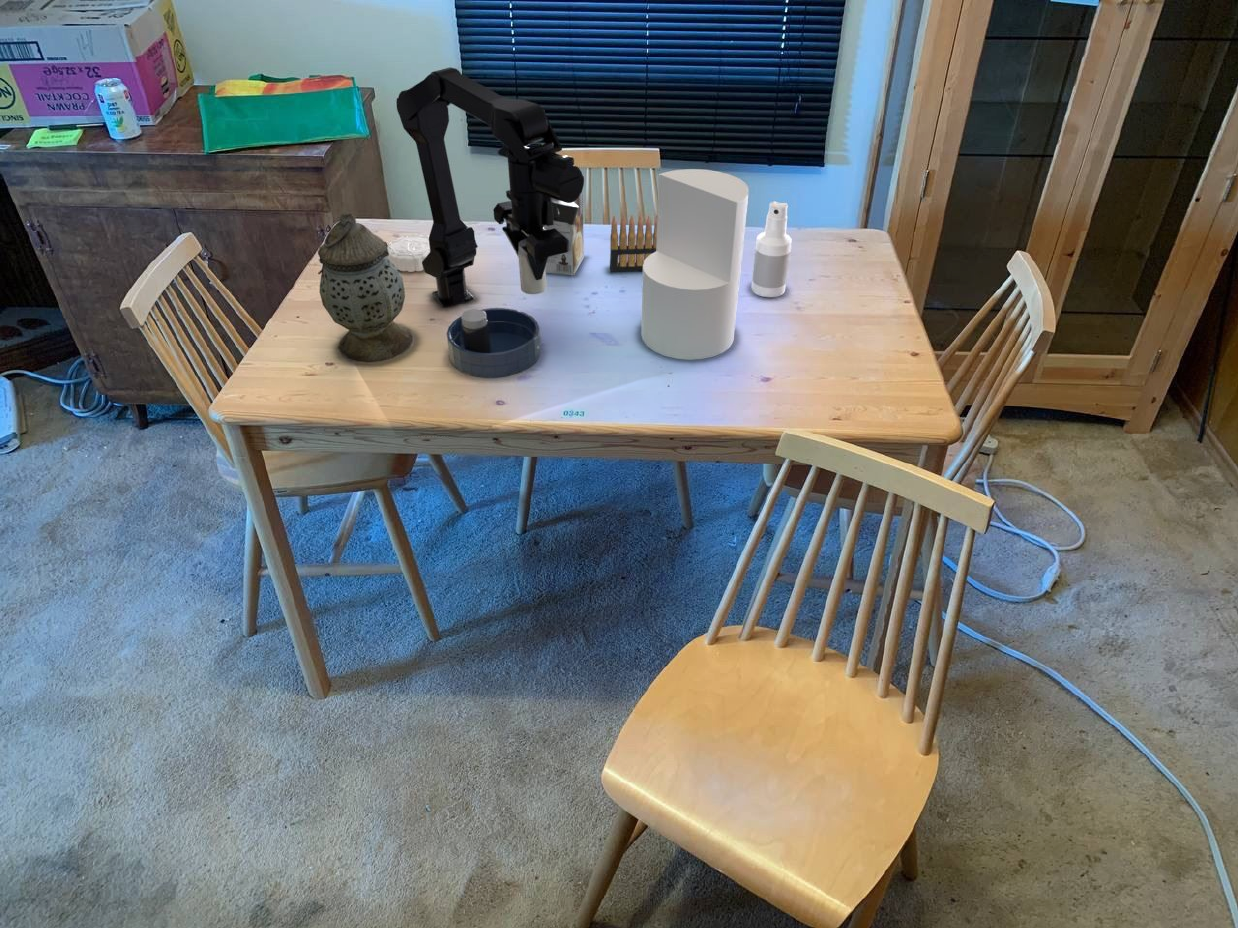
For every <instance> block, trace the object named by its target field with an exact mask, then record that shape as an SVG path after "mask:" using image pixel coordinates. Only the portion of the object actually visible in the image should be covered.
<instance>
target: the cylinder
mask: <svg viewBox="0 0 1238 928" xmlns="http://www.w3.org/2000/svg"><path fill="white" fill-rule="evenodd" d="M657 186H658V188H657V214H656V216H657V244H656V252H654V253H652V254H651V255H649V256H648V257H647V258H646V259H645V260H644V264H643V272H642V281H641V282H642V286H641V326H640V327H641V328H640V334H641V339H642V342H643V343H644V344H645V346H646V347H647V348H648V349H650V350H652V351H653V352H654V353H656V354H659V355H662V356H664V357H668V358H672V359H677V360H687V361H688V360H689V361H693V360H694V361H695V360H704V359H709V358H713V357H716V356H718V355H721V354H723V353H724V352H726V351H728V349H730V348H731V346H732V344H733V343H734V339H735V332H736V331H735V330H736V319H737V311H738V310H737V309H738V302H739V301H738V300H739V292H740V291H739V290H740V280H741V271H742V263H743V251H744V243H745V233H746V232H745V231H746V221H747V214H748V213H747V212H748V201H749V192H750V188H749V186H748V185H747V183H746V182H744V181H743V180H742V179H741V178H739V177H736V176H734V175H733V174H729V173H726V172H722V171H718V170H717V171H716V170H711V169H700V168H699V169H698V168H687V169H676V170H670V171H665V172H662V173H658V185H657Z"/></svg>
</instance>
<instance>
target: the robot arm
mask: <svg viewBox="0 0 1238 928" xmlns="http://www.w3.org/2000/svg"><path fill="white" fill-rule="evenodd" d="M395 102H396V111H397V113H398V116H399V118H400V123H401V125H402V128H403V129H404V131H405V132H406V133H407V134H408V136H410V137H411V139H412V140H413V141H414V142H415V146H416V150H417V154H418V158H419V164H420V168H421V171H422V176H423V181H424V185H425V190H426V195H427V199H428V203H429V208H430V212H431V217H432V226H431V229H430V233H429V235H428V236H429V246H430V253H429V254H428V255H427V256H426V258H425V259H424V260H423V261H422V265H423V268H424V270H423V271H424V273H425V274H427V275H428V276H431V277H433V278H435V282H436V289H437V290H435V291H432V296H433V297H434V298H435V300H436V301H437V302H438V303H439V304H440V306H441V307H443V308H448V307H451V306H455V305H460V304H464V303H468V302H472V301H474V296H473V295H472V294H471V293H470V292H469V290H468V289H467V279H466V272H465V269H466V268H468V267H472V266H473V265H474V262H475V256H477V249H478V248H479V247H478V243H477V241H476V236H475V230H474V229H473V227H472V226H467V224H466V223H465V222H464V221H463V220H462V219H461V216H460V211H459V207H458V201H457V196H456V191H455V186H454V181H453V178H452V171H451V167H450V162H449V157H448V152H447V151H448V150H447V147H446V142H445V141H446V140H445V137H446V134H447V131H448V126H449V123H450V115H449V106H450V105H453V106H455V107H457V108H458V109H460V110H462V111H464V112H465V113H467V114H469V115H470V116H472V117H474V118H476V119H478V120H479V121H480V122H483V123H484V124H486V125H487V126H488V127H490V129H491V131H492V135H493V137H494V138H495V139H497V140H498V141H499V142H501V144H503V146H501V147H500V148H499V149H498V150H497V154H498V155H499V156H501V157H504V158H506V159H507V168H508V181H509V190H505V196H506V198H507V199H508V201H501V202H498V203H497V204H496V205H495V206H494V207H493V219H494V221H495V222H496V223H497V224H499V225H503V224H504V223H505V226H503V227H501V229H502V231H503V233H504V234H505V236H506V238H507V239H508V241H509V243H510V245H511V247H512V249H513V250H514V252H515V254H516V256H517V257H518V251H519V246H518V243H519V242H520V241H521V240H524V239H526V246H523V247H521V248H522V250H523V252H524V255H525V257H526V259H527V262H528V264H529V266H530V269H531V271H532V273H533V275H534V277H535V279H536V280H541V279H542V277H543V273H544V270H545V266H546V263H547V260H548V257H549V256H554V255H558V254H563V253H567V252H568V251H569V240H568V239H567V238H566V237H565V236H564V235H562V234H561V233H560V232H559V231H558V230H556V229H555V228H554V229H549V230H545V229H544V226H545V225H547V226H551V225H554V221H558V222H563V223H568V224H569V225H574V223H575V219H576V216H577V212H578V209H579V206H577V205H576V204H575V203H574V201H575V200H577V198H578V197H579V196H580V194H581V192H582V193H583V190H584V186H585V176H584V174H583V172H582V169H581V168H580V167H578V166H577V165H575V158H574V157H573V156H570V155H562V154H559V153H558V152H561V151H563V147H562V145H561V143H560V141H559V137H558V135H557V133H556V132H555V130H554V129H553V126H552V125H551V122H550V121H549V119H548V116H547V114H546V112H545V109H544V108H543V107H542V106H541V105H540V104H538V103H535V102H531V101H529V100H525V99H518V98H508V97H504V96H502V95H500V94H498V93H497V92H495V91H493V90H492V89H490V88H487V87H486V86H484V85H482V84H480V83H479V82H477V81H475V80H474V79H471V78H469V77H467V76H466V75H464V74H462V73H461V72H460V70H459V69H457V68H455V67H445V68H442V69H438V70H434V71H431V72H430V74H428V75H427V76H426V77H425V78H424V79H423V80H421V81H419V82H418V83H417V84H414V85H413V86H412V87H410V88H408V89H404V90H402V91H400V92H399V94H398V97H397V98H396V101H395ZM542 141H543V143H540V144H537V145H534V144H536V143H539V142H542ZM530 145H534V146H532V147H528V146H530Z"/></svg>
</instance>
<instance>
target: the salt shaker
mask: <svg viewBox="0 0 1238 928" xmlns="http://www.w3.org/2000/svg"><path fill="white" fill-rule="evenodd" d="M518 246H519V251H518V256H517V258H518V269H519V270H518V271H519V280H520V281H519V283H520V290H521V292H522V293H524V294H526V295H539V294H542V293H544V292H545V291H546V290H547V289H548V286H547V284H548V283H547V273H546V266H545V270H544V273H543V277H542V279H541V280H536V279H535V277H534V275H533V273H532V271H531V269H530V266H529V264H528V262H527V259H526V257H525V255H524V252H523V250H522V248H521V247H523V246H526V239H524V240H521V241H520V242H519V243H518Z"/></svg>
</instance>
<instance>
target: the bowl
mask: <svg viewBox="0 0 1238 928" xmlns="http://www.w3.org/2000/svg"><path fill="white" fill-rule="evenodd" d="M481 310H482V311H484V312H485V313H486V315H487V320H488V325H489V334H490V344H491V353H479V352H472V351H469V350H466V349H465V348H464V340H463V332H462V325H461V324H462V318H461V316H459V317H458V318H456V319H455V320H453V321H452V322H451V324H450V325H449V326H448V327H447V330H446V340H447V347H448V355H449V360H450V362H451V364H452V365H453V366H454V368H456V370H459V371H460V372H461V373H464V374H467V375H469V376H473V377H479V378H503V377H509V376H513V375H515V374H516V375H517V374H520V373H521V372H524V371H525V370H528V369H529V368H531V367H532V366H534V364H536V363H537V361H538V360H539V359H540V357H541V353H542V345H541V329H540V325H539V322H538V321H537V320H536V319H535V318H534V317H533V316H531V315H530V314H528V313H526V312H524V311H521V310H517V309H513V308H504V307H491V308H483V309H482V308H481Z"/></svg>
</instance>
